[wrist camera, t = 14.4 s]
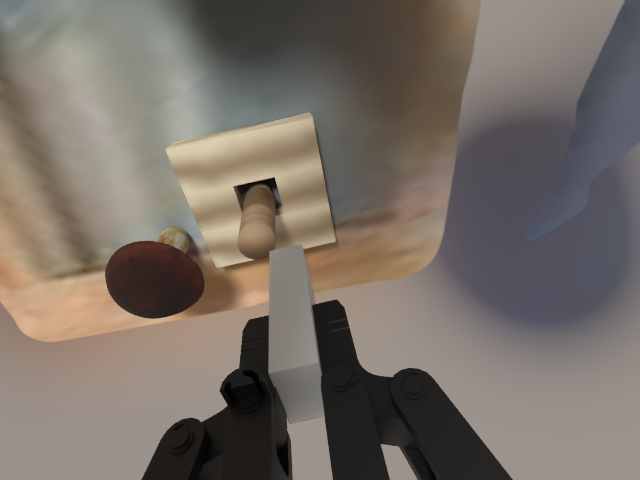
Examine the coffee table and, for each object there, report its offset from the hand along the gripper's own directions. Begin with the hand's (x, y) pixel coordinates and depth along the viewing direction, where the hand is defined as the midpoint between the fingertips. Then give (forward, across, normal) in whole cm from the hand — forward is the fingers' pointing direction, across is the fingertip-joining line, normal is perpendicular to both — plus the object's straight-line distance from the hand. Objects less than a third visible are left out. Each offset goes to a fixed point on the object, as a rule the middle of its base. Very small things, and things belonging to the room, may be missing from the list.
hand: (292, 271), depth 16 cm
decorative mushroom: (+33, -19, -13) cm, 40 cm away
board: (+32, -5, -9) cm, 34 cm away
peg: (+32, -5, -9) cm, 34 cm away
